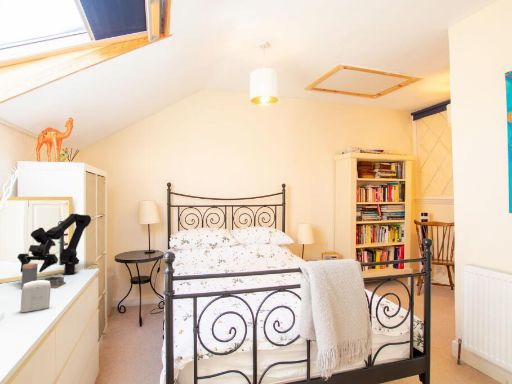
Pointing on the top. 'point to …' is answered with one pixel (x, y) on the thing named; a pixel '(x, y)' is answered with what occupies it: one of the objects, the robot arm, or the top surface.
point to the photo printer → (35, 295)
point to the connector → (29, 273)
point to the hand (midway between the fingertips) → (30, 272)
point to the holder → (56, 281)
